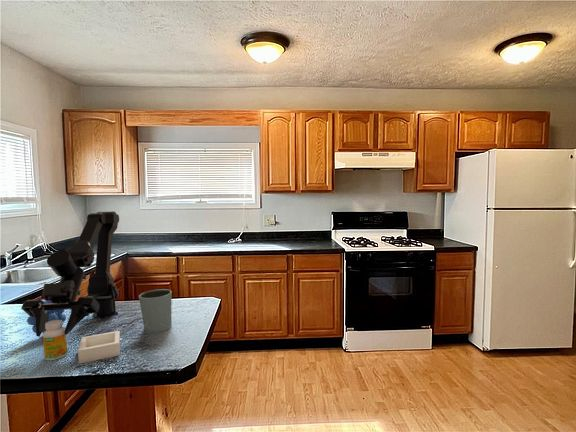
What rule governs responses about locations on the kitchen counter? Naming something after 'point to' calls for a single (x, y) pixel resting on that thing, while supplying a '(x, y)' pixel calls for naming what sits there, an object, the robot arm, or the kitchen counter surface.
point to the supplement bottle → (54, 340)
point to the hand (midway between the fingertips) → (51, 335)
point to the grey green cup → (156, 310)
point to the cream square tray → (99, 346)
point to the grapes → (52, 316)
